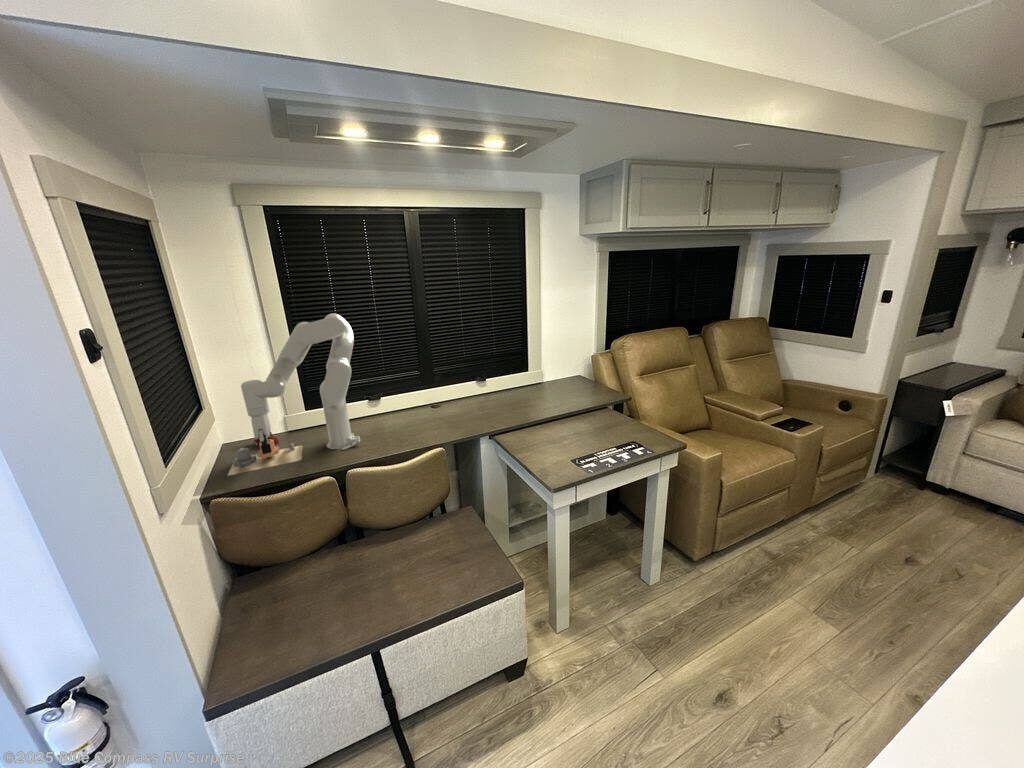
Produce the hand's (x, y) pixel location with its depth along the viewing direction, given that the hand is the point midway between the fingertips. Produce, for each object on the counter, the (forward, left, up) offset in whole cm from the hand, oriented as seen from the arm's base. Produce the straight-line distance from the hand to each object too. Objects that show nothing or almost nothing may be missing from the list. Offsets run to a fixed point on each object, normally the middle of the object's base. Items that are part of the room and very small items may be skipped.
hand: (267, 449), depth 163 cm
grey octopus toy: (+8, +4, -4) cm, 10 cm away
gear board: (0, +1, -5) cm, 5 cm away
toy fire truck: (+10, -14, -5) cm, 18 cm away
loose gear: (0, 0, -2) cm, 2 cm away
